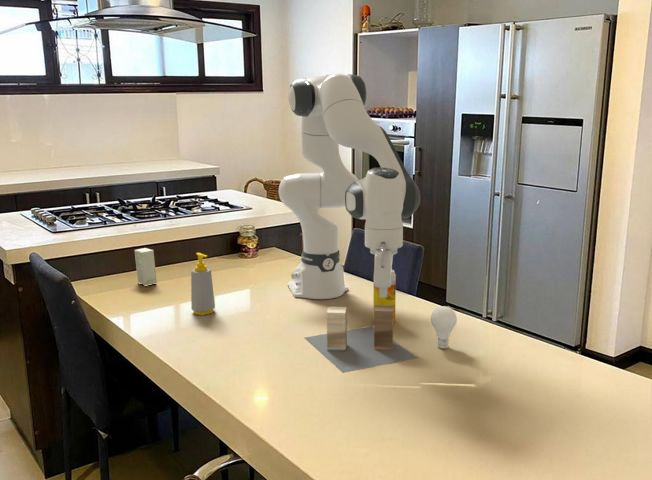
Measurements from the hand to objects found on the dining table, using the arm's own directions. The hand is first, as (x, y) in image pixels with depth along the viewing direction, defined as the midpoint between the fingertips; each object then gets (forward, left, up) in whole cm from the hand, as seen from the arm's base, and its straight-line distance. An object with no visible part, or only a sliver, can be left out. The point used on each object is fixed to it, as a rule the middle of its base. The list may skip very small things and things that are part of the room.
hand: (383, 295), depth 149 cm
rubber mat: (-7, -3, -16) cm, 18 cm away
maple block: (-9, -8, -15) cm, 20 cm away
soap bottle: (-52, -32, -16) cm, 63 cm away
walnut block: (-5, +3, -15) cm, 16 cm away
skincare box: (-90, -43, -16) cm, 101 cm away
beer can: (-21, +12, -16) cm, 29 cm away
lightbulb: (+2, +16, -16) cm, 23 cm away
